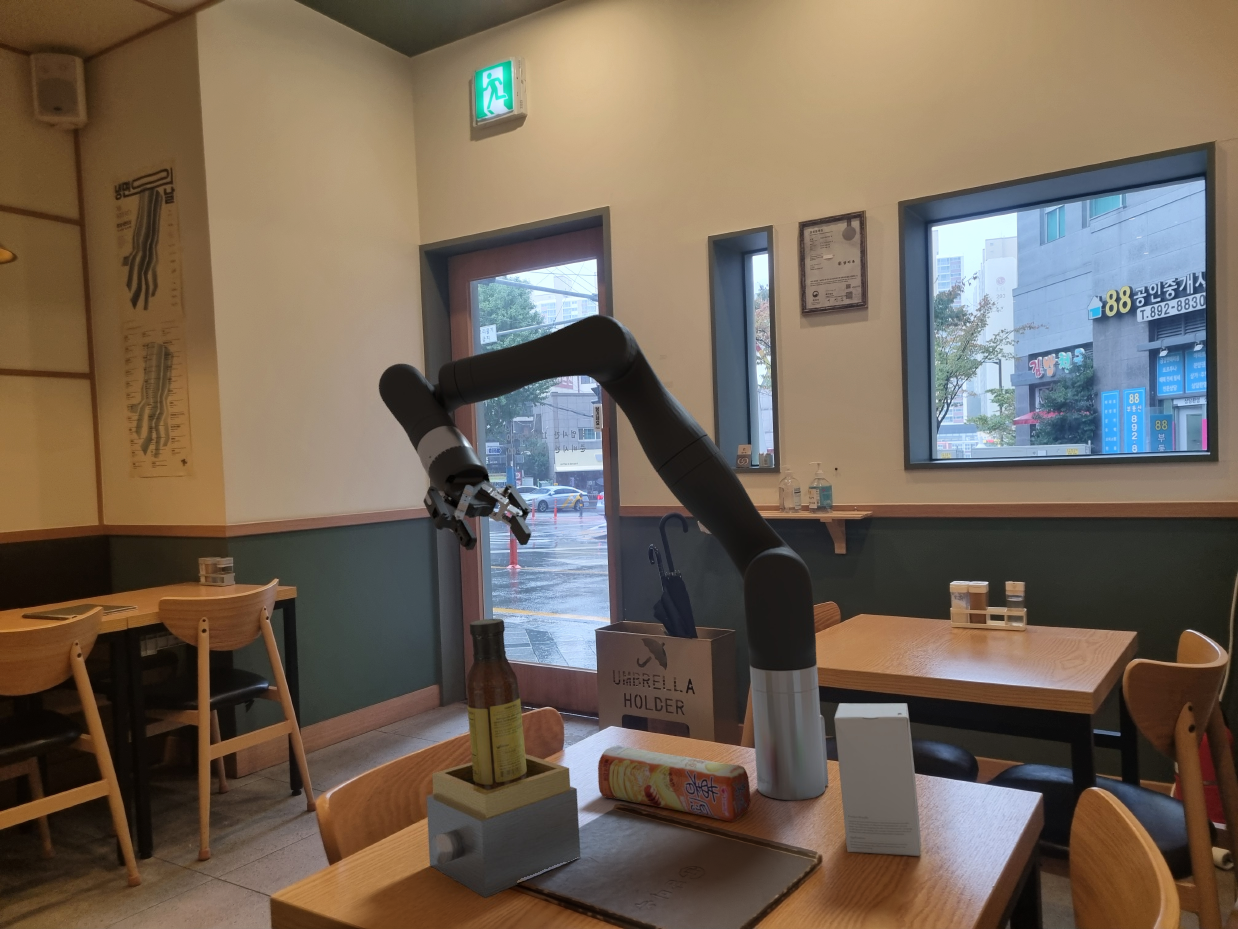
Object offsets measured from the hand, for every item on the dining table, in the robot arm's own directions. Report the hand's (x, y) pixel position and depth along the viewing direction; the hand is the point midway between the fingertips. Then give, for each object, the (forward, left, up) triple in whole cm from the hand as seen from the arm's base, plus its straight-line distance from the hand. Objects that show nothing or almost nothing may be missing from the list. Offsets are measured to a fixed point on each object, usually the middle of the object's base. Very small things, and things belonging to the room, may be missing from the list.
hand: (500, 543), depth 112 cm
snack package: (-18, +12, -37) cm, 43 cm away
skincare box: (-24, +40, -37) cm, 59 cm away
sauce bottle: (+8, +9, -29) cm, 31 cm away
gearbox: (+8, +10, -37) cm, 39 cm away
